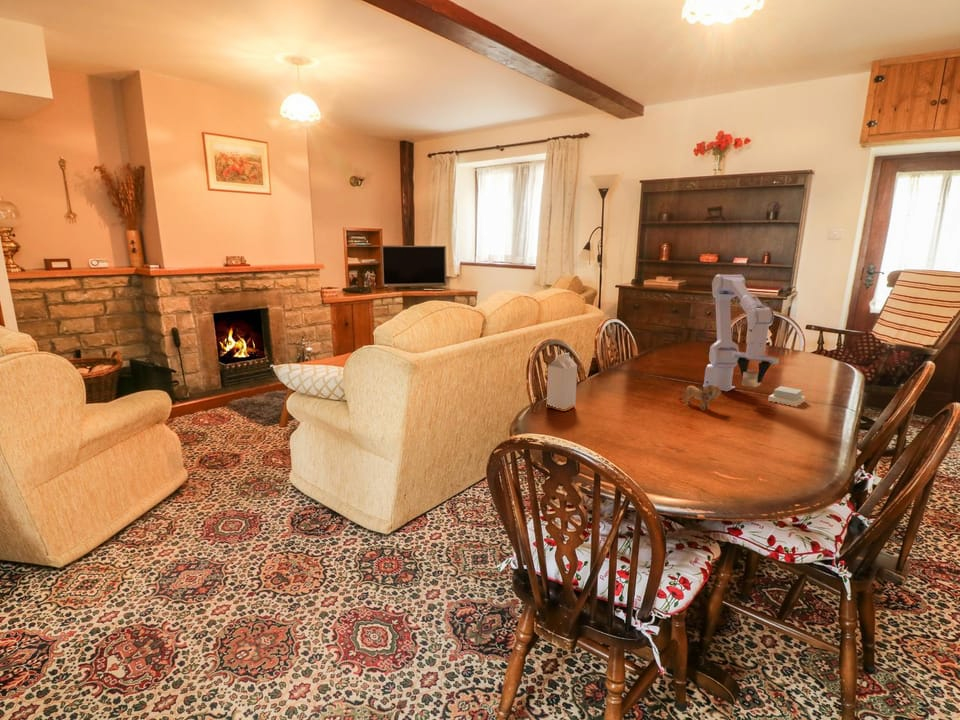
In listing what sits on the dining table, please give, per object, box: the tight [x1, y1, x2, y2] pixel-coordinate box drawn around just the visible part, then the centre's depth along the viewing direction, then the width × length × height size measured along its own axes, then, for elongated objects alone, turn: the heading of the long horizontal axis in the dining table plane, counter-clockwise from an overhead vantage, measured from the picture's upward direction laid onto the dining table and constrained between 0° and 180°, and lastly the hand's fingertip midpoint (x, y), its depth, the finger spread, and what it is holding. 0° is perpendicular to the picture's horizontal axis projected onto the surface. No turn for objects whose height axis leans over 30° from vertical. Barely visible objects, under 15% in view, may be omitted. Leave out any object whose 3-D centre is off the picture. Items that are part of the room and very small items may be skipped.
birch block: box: [741, 369, 762, 388], centre depth 173 cm, size 4×4×4 cm
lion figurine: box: [678, 385, 722, 411], centre depth 171 cm, size 15×5×9 cm, turn 35°
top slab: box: [773, 385, 803, 401], centre depth 177 cm, size 7×7×2 cm
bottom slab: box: [767, 393, 806, 408], centre depth 178 cm, size 9×9×2 cm
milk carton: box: [546, 352, 578, 409], centre depth 167 cm, size 7×7×19 cm
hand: (751, 380), depth 173 cm, fingers closed on birch block, 4 cm apart
